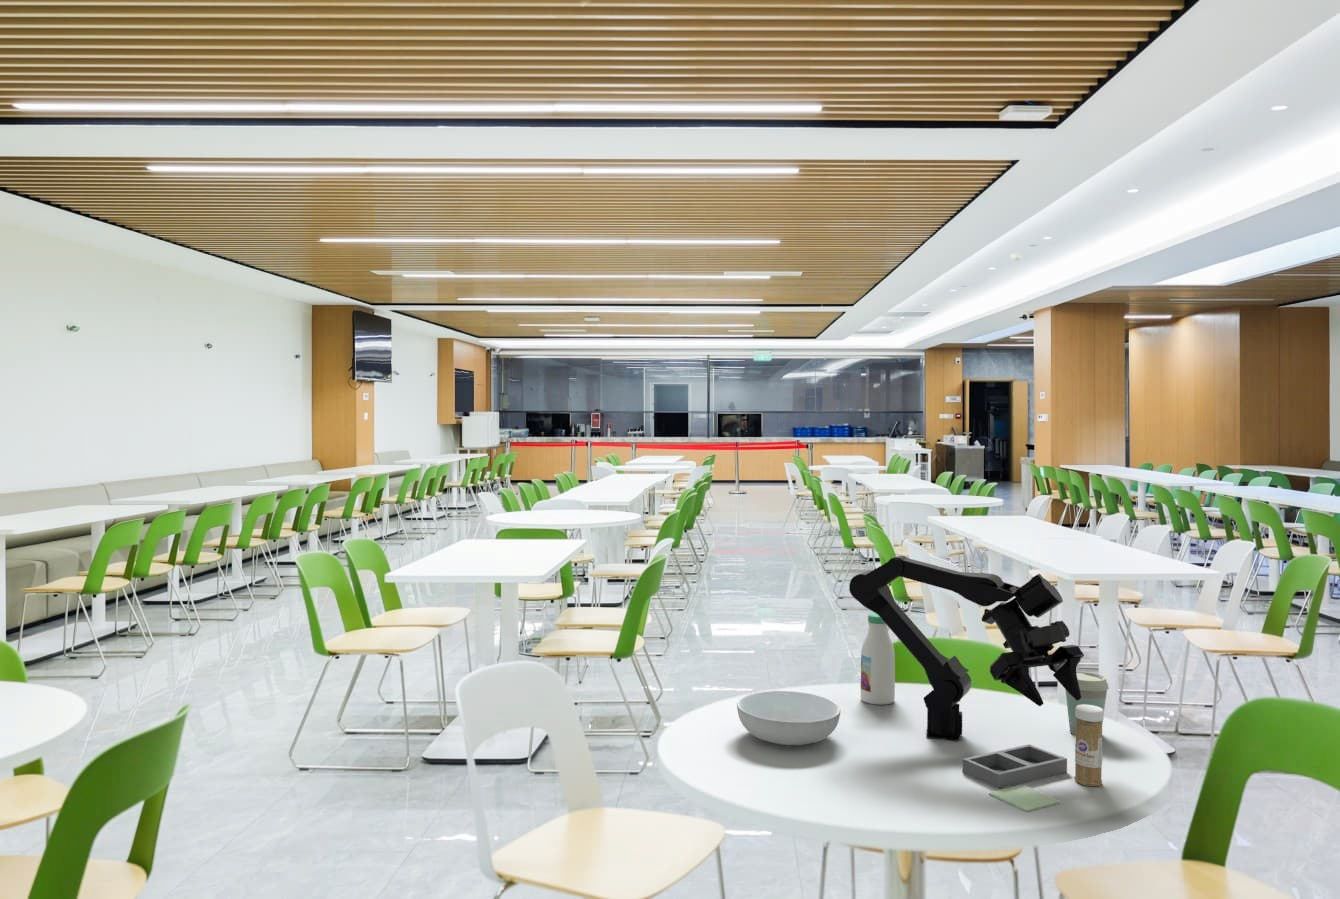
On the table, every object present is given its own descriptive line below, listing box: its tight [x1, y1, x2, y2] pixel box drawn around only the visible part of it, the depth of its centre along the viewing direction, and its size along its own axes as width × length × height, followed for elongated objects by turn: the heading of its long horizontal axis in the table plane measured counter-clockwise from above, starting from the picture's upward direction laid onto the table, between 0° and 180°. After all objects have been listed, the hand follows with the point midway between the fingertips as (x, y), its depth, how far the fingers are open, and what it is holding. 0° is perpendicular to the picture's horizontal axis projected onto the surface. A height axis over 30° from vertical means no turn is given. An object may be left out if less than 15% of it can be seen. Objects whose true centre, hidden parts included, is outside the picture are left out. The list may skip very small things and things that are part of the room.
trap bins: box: [961, 744, 1068, 790], centre depth 166 cm, size 17×9×2 cm, turn 117°
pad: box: [988, 784, 1061, 813], centre depth 154 cm, size 8×8×1 cm
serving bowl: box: [736, 690, 841, 746], centre depth 184 cm, size 21×21×7 cm
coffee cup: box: [1064, 671, 1110, 736], centre depth 187 cm, size 8×8×12 cm
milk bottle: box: [860, 612, 896, 706], centre depth 210 cm, size 8×8×20 cm
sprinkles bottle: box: [1074, 704, 1105, 787], centre depth 161 cm, size 5×5×14 cm
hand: (1060, 702), depth 167 cm, fingers open, 9 cm apart
